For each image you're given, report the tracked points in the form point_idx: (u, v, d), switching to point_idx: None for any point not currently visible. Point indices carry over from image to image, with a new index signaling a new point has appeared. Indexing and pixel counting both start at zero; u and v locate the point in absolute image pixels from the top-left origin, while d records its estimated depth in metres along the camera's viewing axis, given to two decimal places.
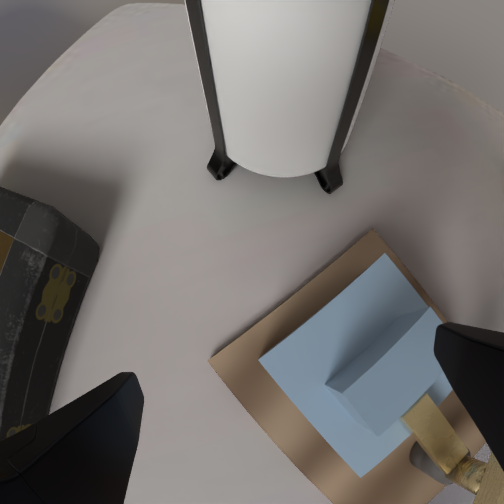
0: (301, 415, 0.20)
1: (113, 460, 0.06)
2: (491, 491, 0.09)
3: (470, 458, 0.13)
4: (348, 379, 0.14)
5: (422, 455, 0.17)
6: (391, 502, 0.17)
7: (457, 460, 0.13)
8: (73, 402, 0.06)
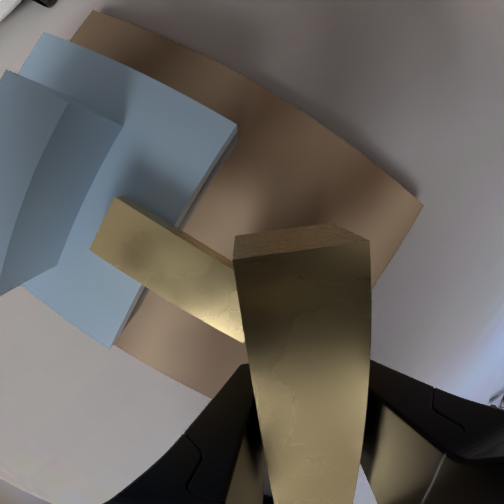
0: None
1: (259, 460, 0.06)
2: None
3: None
4: None
5: None
6: None
7: None
8: (214, 402, 0.06)
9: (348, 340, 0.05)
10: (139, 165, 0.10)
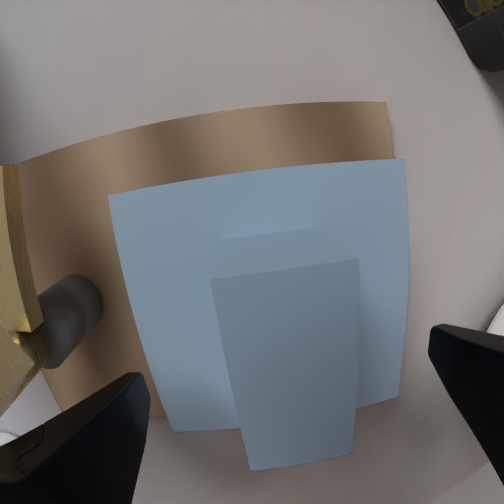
0: (247, 167, 0.14)
1: (121, 461, 0.06)
2: None
3: (23, 343, 0.09)
4: None
5: (78, 299, 0.13)
6: (33, 220, 0.14)
7: (12, 325, 0.09)
8: (80, 403, 0.06)
9: None
10: (207, 378, 0.11)
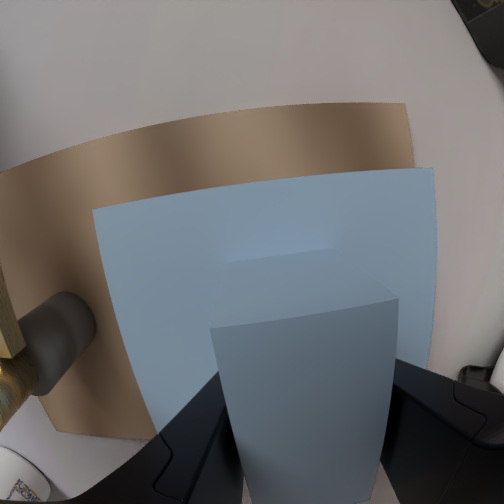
0: (253, 175, 0.12)
1: (236, 462, 0.06)
2: None
3: (4, 371, 0.07)
4: None
5: (67, 320, 0.11)
6: (21, 232, 0.13)
7: None
8: (190, 403, 0.06)
9: None
10: None
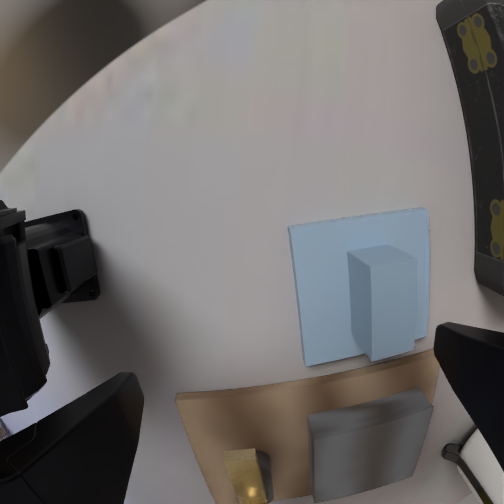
0: (363, 400, 0.23)
1: (113, 460, 0.06)
2: None
3: None
4: None
5: (267, 469, 0.22)
6: (222, 427, 0.23)
7: (253, 503, 0.18)
8: (73, 402, 0.06)
9: None
10: (332, 325, 0.21)
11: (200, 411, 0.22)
